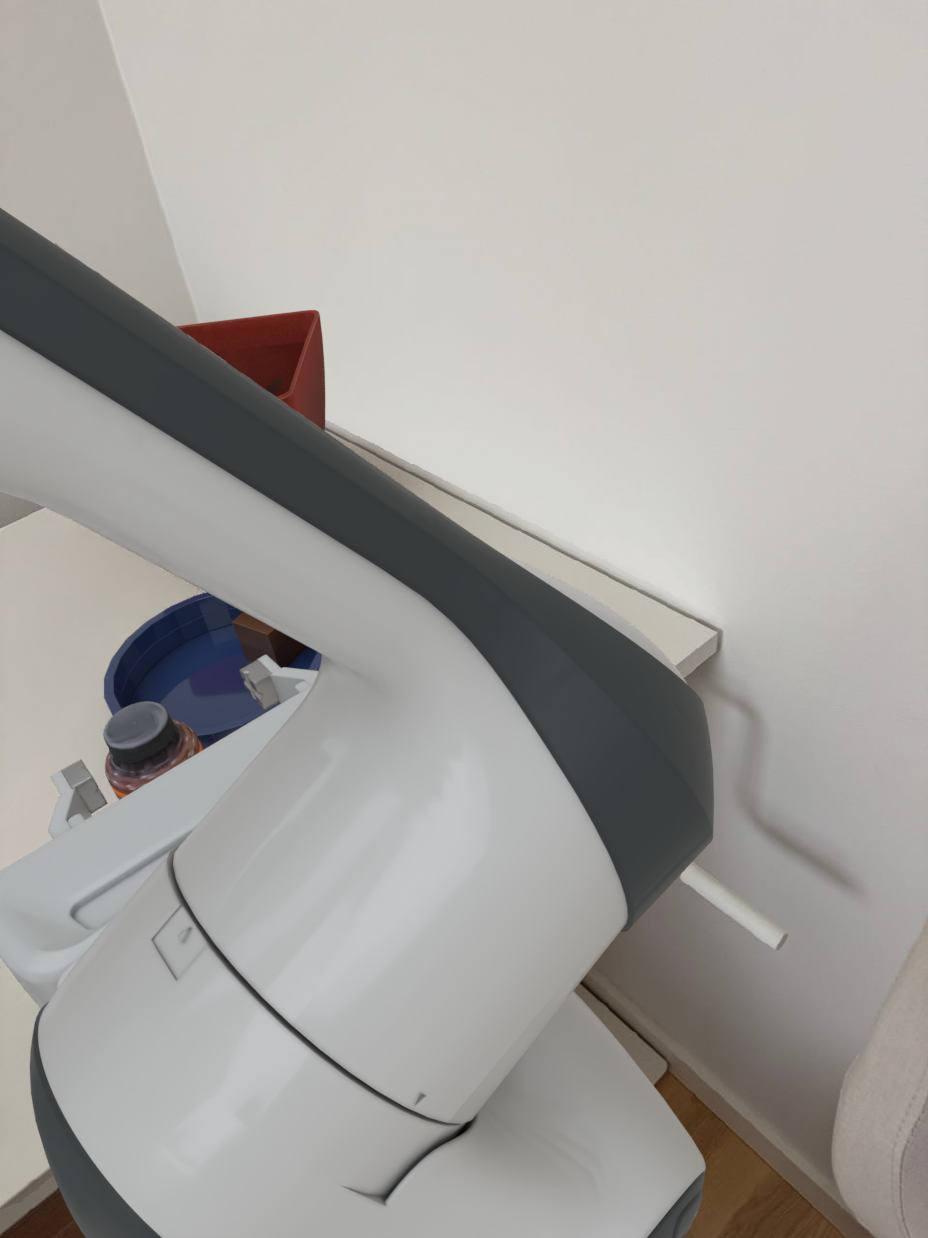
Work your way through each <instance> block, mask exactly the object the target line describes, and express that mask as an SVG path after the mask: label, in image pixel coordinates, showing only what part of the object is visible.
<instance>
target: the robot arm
mask: <svg viewBox="0 0 928 1238" xmlns="http://www.w3.org/2000/svg"><path fill="white" fill-rule="evenodd" d="M176 326H177V325H174V324H172V323H171V322H169V321H168V320H167V319H166V318H164V317H163V316H161V314H159V313H157V312H155V311H154V310H152V309H151V308H150V307H148V305H146V304H144V303H143V302H142V301H139V300H138V299H136V297H134V296H133V295H131V294H130V293H129V292H127V291H126V290H124V289H122V288H120V287H119V286H118V285H117V284H115V283H114V282H112V281H111V280H110V279H109V278H107V277H106V276H104V275H102V274H101V273H100V272H98V271H97V270H96V269H94V268H93V267H91V266H90V265H88V264H86V263H85V262H83V261H82V260H80V259H79V258H78V257H76V256H74V255H73V254H72V253H70V252H69V251H67V250H66V249H65V248H63V247H62V246H61V245H60V244H58V243H56V242H55V243H54V242H53V241H51V240H49V239H48V238H46V237H45V236H44V235H42V234H40V233H39V232H38V231H36V230H35V229H33V228H31V227H30V226H29V225H27V224H26V223H24V222H23V221H21V220H19V218H16V217H15V216H13V214H10V213H9V212H7V211H6V210H5V209H3V208H1V207H0V493H3V494H6V495H9V496H12V497H16V498H18V499H22V500H25V501H29V502H31V503H34V504H36V505H39V506H41V507H43V508H45V509H47V510H50V511H52V512H53V513H55V514H58V515H60V516H63V517H65V518H67V519H68V520H71V521H73V522H75V523H77V524H79V525H81V526H83V527H84V528H86V529H88V530H89V531H92V532H93V533H95V534H97V535H99V536H101V537H103V538H105V539H106V540H109V541H111V542H112V543H114V544H116V545H117V546H120V547H121V548H123V549H126V551H129V552H131V553H133V554H134V555H136V556H138V557H141V558H142V559H144V560H145V561H148V562H149V563H151V564H153V565H154V566H157V567H159V568H161V569H163V570H164V571H167V572H169V573H170V574H172V575H174V576H176V577H177V578H179V579H181V580H183V581H185V582H187V583H189V584H191V585H192V586H194V587H195V588H197V589H200V590H202V591H203V592H204V593H206V592H207V593H209V594H211V595H213V596H215V597H217V598H219V599H220V600H222V601H224V602H226V603H228V604H230V605H232V606H233V607H235V608H237V609H239V610H241V611H243V612H245V613H247V614H248V615H250V616H252V617H254V618H256V619H258V620H260V621H261V622H263V623H265V624H267V625H269V626H271V627H273V628H275V629H276V630H278V631H280V632H282V633H284V634H286V635H288V636H289V637H291V638H293V639H295V640H297V641H299V642H301V643H303V644H304V645H306V646H308V647H310V648H312V649H314V650H316V651H317V652H319V653H321V654H322V660H321V664H320V668H319V671H314V670H305V669H296V668H287V667H283V668H281V667H279V666H278V665H277V664H276V663H275V662H274V661H273V660H272V659H271V658H270V657H269V656H268V655H266V654H265V655H263V656H262V657H260V658H258V659H257V660H256V661H254V662H252V663H250V664H249V665H247V666H245V667H243V668H242V669H240V670H239V671H240V674H241V677H242V678H243V679H244V680H245V681H244V685H245V687H246V689H247V691H248V693H249V694H250V695H251V697H252V698H253V699H256V700H257V702H258V704H259V705H260V706H261V707H262V708H263V709H264V710H266V709H268V708H270V707H272V706H274V705H275V704H277V703H279V702H280V703H281V704H280V705H278V706H276V707H275V708H273V709H271V710H270V711H268V712H266V713H265V714H263V715H261V716H260V717H258V718H256V719H255V720H253V721H251V722H249V723H248V724H246V725H244V726H243V727H241V728H239V729H238V730H236V731H234V732H233V733H231V734H229V735H228V736H226V737H224V738H223V739H221V740H219V741H218V742H216V743H214V744H213V745H211V746H209V747H207V748H206V749H204V750H202V751H201V752H199V753H197V754H196V755H194V756H192V757H191V758H189V759H187V760H186V761H184V762H182V763H181V764H179V765H177V766H176V767H174V768H172V769H171V770H169V771H167V772H165V773H164V774H162V775H160V776H159V777H157V778H155V779H154V780H152V781H150V782H149V783H147V784H145V785H144V786H142V787H140V788H139V789H137V790H135V791H134V792H132V793H130V794H129V795H127V796H125V797H123V798H122V799H120V800H118V799H117V801H115V802H113V803H111V804H110V805H108V801H107V799H106V797H105V795H104V794H103V792H102V790H101V789H100V788H99V785H98V783H97V782H96V780H95V778H94V776H93V774H92V773H91V772H90V770H89V769H88V768H87V766H86V764H85V763H84V761H83V759H79V760H77V761H75V762H73V763H71V764H70V765H68V766H66V767H64V768H62V769H60V770H59V771H57V772H55V773H53V774H51V775H49V778H50V780H51V782H52V783H53V785H54V786H55V788H56V790H57V791H58V793H59V794H60V796H58V797H57V801H56V804H55V807H54V809H53V813H52V816H51V819H50V823H49V825H48V829H47V831H48V834H49V835H50V837H51V840H50V841H48V842H46V843H44V844H43V845H41V846H39V847H38V848H36V849H34V850H32V851H31V852H30V853H28V854H26V855H24V856H22V857H20V858H19V859H17V860H16V861H14V862H13V863H11V864H9V865H7V866H5V867H4V868H2V869H0V959H1V960H2V962H3V964H4V965H5V966H6V968H7V969H8V970H9V971H10V973H11V974H12V975H13V977H14V978H15V979H16V981H17V982H18V983H19V985H20V986H21V987H22V989H23V990H24V991H25V992H26V994H28V996H29V997H30V998H31V999H32V1000H33V1002H34V1003H35V1004H36V1005H37V1006H38V1007H39V1008H40V1009H39V1011H38V1012H37V1014H36V1017H35V1021H34V1024H33V1032H32V1036H31V1044H30V1052H29V1081H30V1096H31V1103H32V1109H33V1114H34V1119H35V1120H34V1121H35V1123H36V1127H37V1131H38V1134H39V1138H40V1141H41V1144H42V1148H43V1151H44V1155H45V1158H46V1160H47V1163H48V1166H49V1168H50V1171H51V1173H52V1175H53V1178H54V1180H55V1183H56V1185H57V1187H58V1190H59V1191H60V1194H61V1196H62V1198H63V1201H64V1203H65V1205H66V1207H67V1209H68V1211H69V1212H70V1215H71V1217H72V1219H73V1220H74V1222H75V1223H76V1225H77V1226H78V1228H79V1230H80V1232H81V1233H82V1235H83V1236H84V1237H85V1238H683V1236H686V1235H687V1234H688V1232H689V1230H690V1228H691V1226H692V1225H693V1222H694V1220H695V1219H696V1217H697V1215H698V1212H699V1208H700V1206H701V1203H702V1200H703V1197H704V1194H703V1189H704V1182H705V1176H706V1169H707V1168H706V1167H707V1166H706V1161H705V1158H704V1155H703V1154H702V1153H701V1151H700V1149H699V1148H698V1146H697V1144H696V1143H695V1141H694V1138H692V1136H691V1135H690V1133H689V1132H688V1131H687V1129H686V1128H685V1126H684V1125H683V1124H682V1122H681V1121H680V1119H679V1118H678V1117H677V1115H676V1114H675V1113H674V1111H673V1109H672V1108H671V1107H670V1105H669V1104H668V1103H667V1101H666V1100H665V1098H664V1097H663V1096H662V1095H661V1093H660V1092H659V1091H658V1089H657V1088H656V1086H654V1084H653V1083H652V1081H650V1079H649V1078H648V1077H647V1075H646V1074H645V1073H644V1071H643V1070H642V1068H640V1066H638V1065H639V1064H637V1062H635V1060H634V1059H633V1057H632V1056H631V1055H630V1053H628V1051H627V1050H626V1048H625V1047H624V1046H623V1045H622V1044H621V1042H619V1040H618V1039H617V1038H616V1036H615V1035H614V1034H613V1033H612V1032H611V1031H610V1030H609V1028H608V1027H607V1026H606V1025H605V1024H604V1022H603V1021H602V1020H601V1019H600V1018H599V1017H598V1016H597V1014H596V1013H595V1012H594V1011H593V1010H592V1009H591V1007H589V1005H587V1003H586V1002H585V1001H584V1000H583V999H582V998H581V996H580V995H578V994H577V993H576V992H575V990H576V988H577V987H578V986H579V985H580V983H581V982H582V981H583V980H584V978H585V976H586V975H588V973H589V972H590V971H591V969H592V968H593V966H595V964H596V963H597V961H598V960H599V959H600V958H601V957H602V955H603V954H604V953H605V951H606V950H607V949H608V948H609V946H610V945H611V944H612V942H614V940H615V939H616V938H617V936H618V935H619V933H625V932H628V931H629V930H630V929H631V928H633V926H634V925H635V924H636V923H637V922H638V921H639V920H640V918H641V917H642V916H643V915H644V914H645V913H646V912H647V911H648V910H649V909H650V908H651V907H652V906H653V905H654V903H655V902H657V900H658V899H659V898H660V897H661V896H662V895H663V894H664V893H665V892H666V891H667V890H668V889H669V887H670V886H671V885H672V884H673V883H674V882H675V881H676V880H677V879H678V878H679V877H680V876H681V875H682V874H683V873H684V872H685V871H686V870H687V868H688V867H689V866H690V865H691V864H692V863H693V862H694V861H695V860H696V859H697V858H698V857H699V855H700V854H701V853H702V852H704V850H705V849H706V848H707V847H708V846H709V845H710V844H711V842H712V841H713V839H714V821H715V788H714V784H715V783H714V782H715V781H714V764H713V763H714V762H713V752H712V751H713V750H712V743H711V735H710V730H709V724H708V717H707V713H706V709H705V703H704V701H703V699H702V698H701V697H700V695H698V693H697V692H696V691H695V690H694V689H693V688H692V687H691V686H690V685H689V684H688V682H687V681H686V679H685V678H684V676H683V675H682V674H681V672H680V670H679V669H678V668H677V667H676V665H675V664H674V662H673V661H671V659H670V658H669V657H668V656H667V655H666V654H665V653H664V652H663V650H662V649H660V647H658V645H656V644H655V642H654V641H652V640H651V639H650V638H649V637H648V636H647V635H646V634H644V633H643V632H642V631H641V630H640V629H638V627H636V626H635V625H634V624H632V623H631V622H630V621H628V620H627V619H626V618H624V617H623V616H622V615H621V614H619V613H618V612H617V611H615V610H614V609H612V608H610V607H609V606H607V605H606V604H604V603H602V602H601V601H600V600H598V599H596V598H594V597H593V596H592V595H590V594H588V593H587V592H585V591H583V590H581V589H579V588H577V587H575V586H574V585H572V584H570V583H568V582H566V581H564V580H562V579H560V578H558V577H555V576H554V575H551V574H549V573H547V572H545V571H543V570H541V569H539V568H536V567H534V566H532V565H530V564H527V563H524V562H523V561H520V560H518V559H515V558H513V557H512V556H509V555H506V554H505V553H502V552H500V551H498V550H497V549H495V548H494V547H492V546H491V545H490V544H488V543H486V542H485V541H483V540H482V539H481V538H479V537H477V536H476V535H474V534H473V533H471V532H470V531H468V530H467V529H466V528H464V527H463V526H461V525H460V524H458V523H457V522H456V521H454V520H452V519H451V518H449V516H447V515H446V514H444V513H443V512H441V511H440V510H438V509H436V507H434V506H433V505H431V504H430V503H428V502H426V501H425V500H424V499H422V498H421V497H419V496H418V495H417V494H415V493H414V492H412V491H411V490H410V489H408V488H407V487H405V486H404V485H403V484H401V483H400V482H398V481H397V480H395V479H394V478H393V477H391V476H390V475H388V474H387V473H385V472H384V471H383V470H381V469H379V468H378V467H377V466H376V465H374V464H373V463H371V462H370V461H368V460H367V459H365V458H364V457H363V456H361V455H360V454H358V453H357V452H355V451H354V450H352V449H351V448H350V447H348V446H347V445H346V444H344V443H342V442H341V441H340V440H338V439H337V438H335V437H334V436H333V435H331V434H330V433H328V432H327V431H326V430H325V431H324V430H322V429H321V428H320V427H318V426H317V425H316V424H314V423H313V422H311V421H310V420H308V419H307V418H305V417H304V416H303V415H301V414H300V413H298V412H297V411H295V410H294V409H292V408H291V407H290V406H288V405H287V404H286V403H284V402H283V401H281V400H280V399H278V398H277V397H276V396H274V395H273V394H271V393H270V392H268V391H267V390H265V389H264V388H262V387H261V386H260V385H258V384H257V383H255V382H254V381H253V380H251V379H250V378H249V377H247V376H246V375H244V374H243V373H241V372H240V371H238V370H237V369H235V368H234V367H232V366H231V365H230V364H228V363H227V362H226V361H224V360H223V359H221V358H220V357H219V356H217V355H216V354H214V353H213V352H211V351H210V350H209V349H207V348H206V347H204V346H203V345H201V344H200V343H198V342H197V341H196V340H194V339H193V338H191V337H190V336H189V335H187V334H185V333H184V332H182V331H181V330H180V329H178V328H177V327H176ZM106 805H108V806H107V807H105V806H106ZM103 807H105V808H103ZM102 808H103V809H102ZM98 810H100V811H98ZM97 811H98V812H97ZM95 812H97V813H95ZM94 813H95V814H94ZM92 814H94V815H92Z"/></svg>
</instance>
